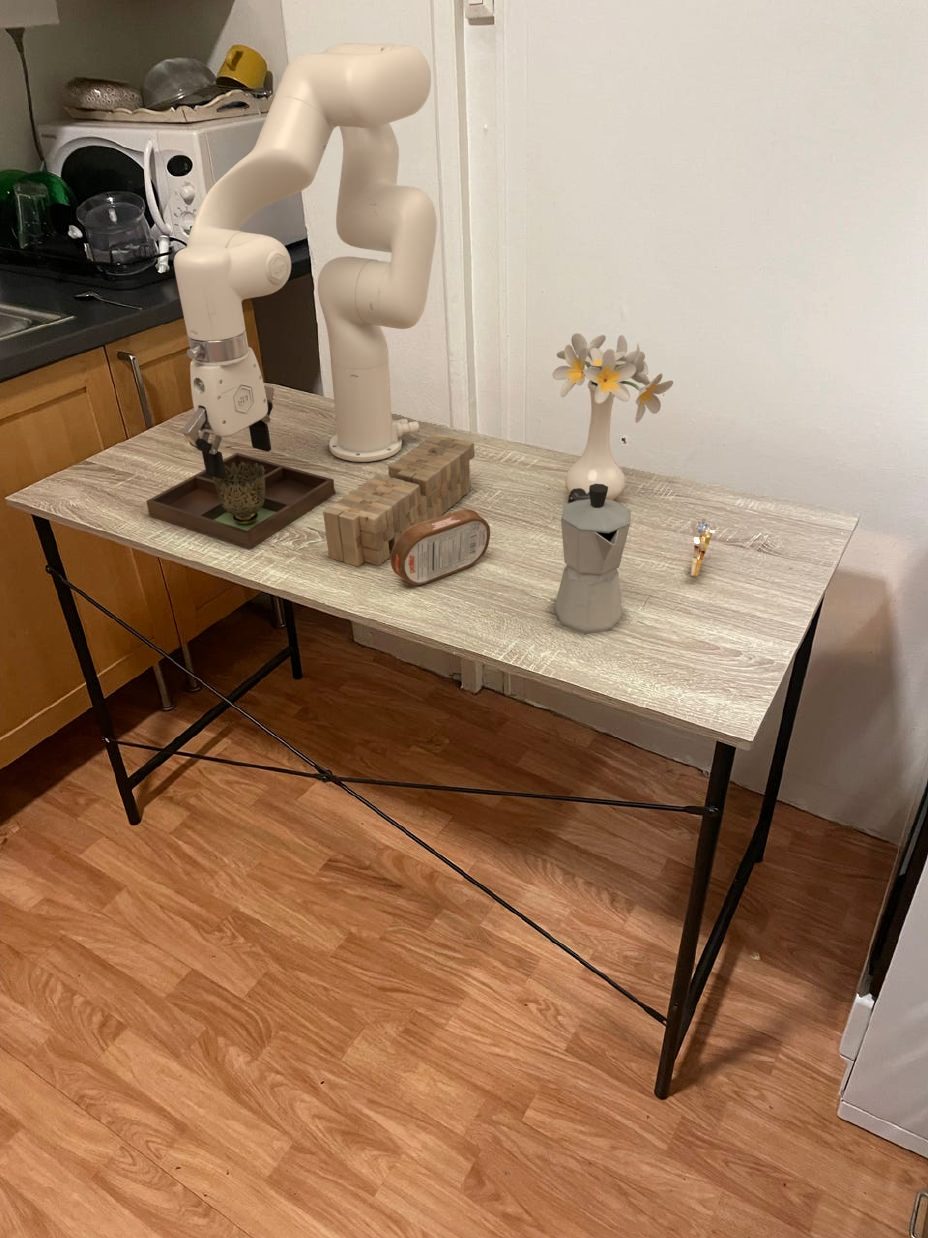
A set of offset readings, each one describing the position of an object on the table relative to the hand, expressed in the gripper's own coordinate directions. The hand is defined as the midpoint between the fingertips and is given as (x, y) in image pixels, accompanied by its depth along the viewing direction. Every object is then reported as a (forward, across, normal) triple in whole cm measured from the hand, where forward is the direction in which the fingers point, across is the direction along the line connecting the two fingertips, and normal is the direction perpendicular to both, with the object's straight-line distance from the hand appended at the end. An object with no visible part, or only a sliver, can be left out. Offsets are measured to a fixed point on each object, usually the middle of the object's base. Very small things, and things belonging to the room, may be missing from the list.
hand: (239, 462), depth 132 cm
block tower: (+11, +12, -20) cm, 26 cm away
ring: (+11, +20, -62) cm, 66 cm away
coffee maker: (+10, +4, -53) cm, 54 cm away
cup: (+9, -1, 0) cm, 9 cm away
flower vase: (+11, +33, -42) cm, 55 cm away
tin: (+10, +2, -33) cm, 34 cm away
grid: (+10, +4, +5) cm, 12 cm away
